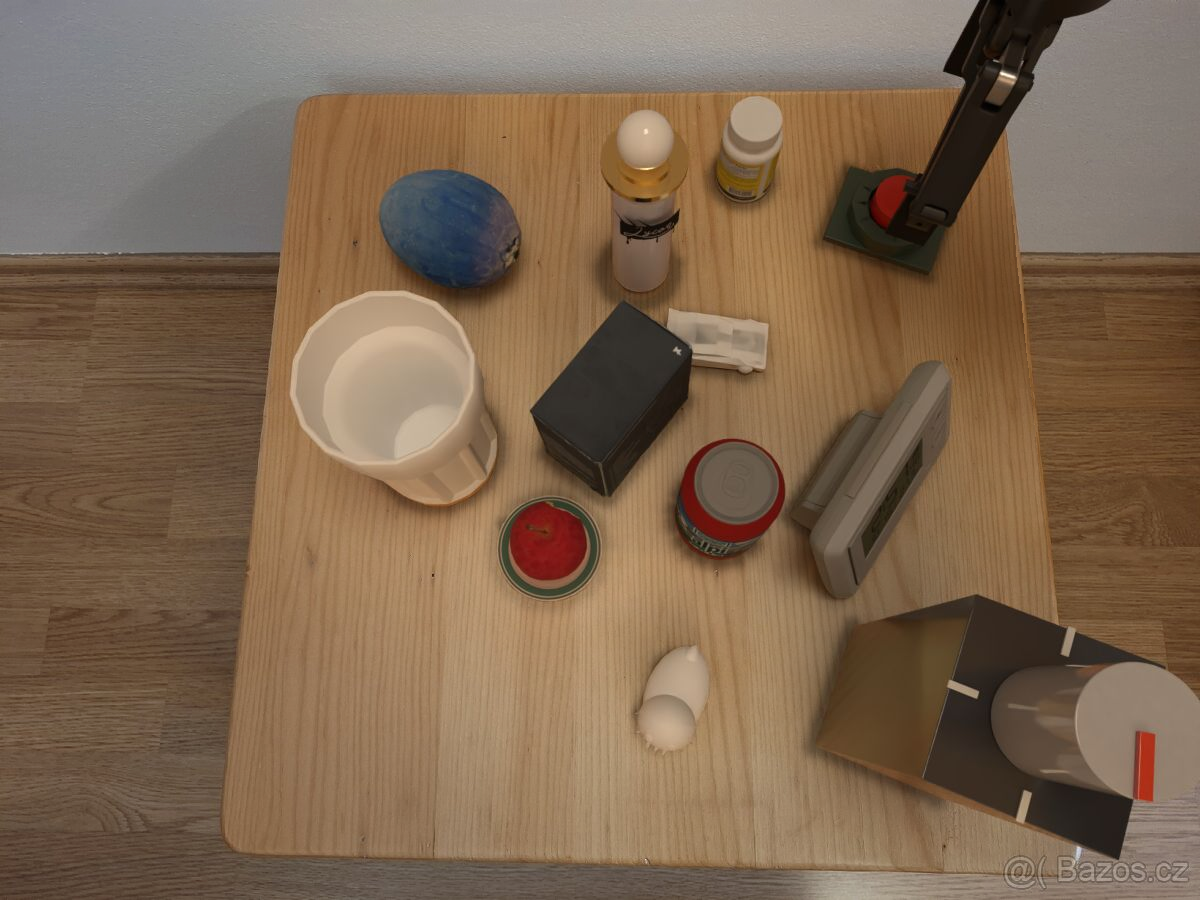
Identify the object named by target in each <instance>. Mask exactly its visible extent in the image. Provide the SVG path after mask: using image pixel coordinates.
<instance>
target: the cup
mask: <svg viewBox="0 0 1200 900" xmlns="http://www.w3.org/2000/svg"><path fill="white" fill-rule="evenodd" d="M290 374H291V375H290V382H289V383H290V385H289V394H288V396H289V399H290V402H291V404H292V407H293V410H294V413H295V416H296V418H297V421H298V423H299V427H300V429H301V430H302V431H303V432H304V433H305V434H306V435H307V436H308V437H309V438H310V439H311V440H312V442H314V443H315V444H316V445H317V446H318V448H319V449H321V451H322V452H323V453H324V454H326V456H329V457H330V458H331V459H333V460H335V461H336V462H338V463H339V464H340V465H342V466H344V467H345V468H347V469H349V470H351V471H355V472H356V473H359V474H362V475H365V476H367V477H370V478H372V479H375V480H378V481H381V482H383V483H384V484H385V485H387V486H389V487H390V488H391V489H393V490H395V491H396V492H397V493H399V494H400V495H401V496H403V497H405V498H406V499H408V500H411V501H413V502H414V503H418V504H421V505H425V506H427V507H428V506H429V507H430V506H431V507H448V506H453V505H456V504H458V503H460V502H463V501H465V500H467V499H469V498H471V497H473V496H474V495H475V494H476V493H477V492H478V491H480V489H482V487H484V486H485V484H486V483H487V482H489V480H490V478H491V477H492V474H493V471H494V469H495V467H496V464H497V461H498V455H499V454H498V453H499V436H498V434H497V431H496V429H495V426H494V424H493V421H492V419H491V416H490V413H489V411H488V408H487V407H486V404H485V378H484V375H483V373H482V370H481V367H480V364H479V362H478V359H477V355H476V354H475V352H474V349H473V346H472V345H471V342H470V340H469V337H468V335H467V333H466V331H465V328H464V326H463V324H462V323H461V322H459V320H457V319H456V318H455V317H454V316H453V315H452V314H451V313H450V312H449V311H448V310H447V309H446V308H445V307H444V306H443V305H442V304H441V303H440V302H439V301H436V300H433V299H431V298H427V297H425V296H422V295H419V294H417V293H414V292H410V291H408V290H405V289H402V290H400V289H399V290H368V291H366V292H364V293H361V294H359V295H356V296H353V297H350V298H349V299H347V300H344V301H342V302H338V303H337V304H335V305H333V306H332V308H330V309H329V310H328V311H327V312H326V313H325V314H324V315H322V316H321V317H319V319H318V320H316V321H315V323H313V324H312V325H311V326H310V327H309V328H308V329H307V331H306V333H305V335H304V337H303V339H302V341H301V343H300V345H299V347H298V349H297V351H296V353H295V355H294V357H293V359H292V361H291V373H290Z"/></svg>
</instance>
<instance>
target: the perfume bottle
mask: <svg viewBox="0 0 1200 900" xmlns="http://www.w3.org/2000/svg"><path fill="white" fill-rule="evenodd" d="M689 154H690V153H689V149H688V147H687V144H686V142H685V139H683V137H682V136H681V134H680V133H679V132H677V131H676V130H675V129H674V128H673V127H672V124H671V122H670V121H669V120H668V119H667V118H666V117H665V115H663V114H662V113H660V112H659V111H656V110H654V109H649V108H643V109H638V110H634V111H632V112H631V113H630V114H628V115H627V116H625V117H624V119H623V120H622V121H621V123H620V124H619V126H618V127H616V129H615V130H613V131H612V132H611V133H610V134H609V135H608V136H607V137H606V139H605V141H604V143H603V144H602V147H601V150H600V158H599V163H600V173H601V175H602V178H603V180H604V182H605V183H606V185H607V187H608V188H609V189H610V190H609V191H610V217H611V221H610V222H611V244H612V245H611V249H612V250H611V251H612V271H613V274H614V277H615V279H616V281H617V282H618V283H619V284H620V285H621V286H622V287H624V289H627V290H629V291H631V292H636V293H645V292H650V291H653V290H654V289H656V288H658V287H659V286H660V285H662V284H663V283H664V282H665V280H666V278H667V276H668V273H669V268H670V258H671V257H670V256H671V249H672V239H673V238H672V237H673V234H674V233H675V227H676V225H678V223H679V220H680V212H681V207H679V208H678V210H676V209H675V208H676V199H677V190H679V189H680V187H681V186H682V185H683V183H684V181H685V179H686V178H687V175H688V172H689V163H690V155H689ZM675 210H676V211H675Z"/></svg>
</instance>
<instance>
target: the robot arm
mask: <svg viewBox="0 0 1200 900" xmlns="http://www.w3.org/2000/svg"><path fill="white" fill-rule="evenodd" d="M1111 1H1112V0H978V2H977V4H975V7H974V9H973V11H972V12H971V15H970V16H969V18H968V20H967V22H966V23H965V26H964V28H963V29H962V32H961V33H960V35H959V37H958V39H957V41H956V43H955V44H954V46H953V48H952V50H951V52H950V54H949V55H948V58H947V60H946V61H945V63H944V67H943V70H942V73H946V74H949V75H951V76H955V77H958V78H962V79H963V81H964V84H963V86H962V88H961V91H960V93H959V95H958V97H957V99H956V101H955V103H954V106H953V108H952V110H951V112H950V114H949V116H948V118H947V121H946V123H945V125H944V127H943V128H942V131H941V134H940V136H939V138H938V140H937V143H936V144H935V146H934V149H933V151H932V153H931V155H930V157H929V160H928V162H927V164H926V165H925V169H924V170H923V172H922V173H921V172H918V173H917V174H918V175H917V177H916V178H915V180H914V181H913V180H910V179H907V180H906V182H905V184H904V187H903V190H902V191H903V192H906V195H905V197H904V198H903V200H902V202H901V203H900V205H899V207H898V208H897V210H896V212H895V214H894V215H893V217H892V219H891V220H890V222H889V224H888V226H887V229H886V232H885V234H888V235H891V236H894V237H897V238H900V239H902V240H905V241H908V242H911V243H914V244H917V245H920V246H924V245H925V243H926V242H927V240H928V239H929V238H930V236H931V235H932V233H933V232H934V231H935V229H936V228H937V226H938V225H940V226H943V227H946V229H950V228H951V227H953V224H955V223H956V221H957V218H958V214H959V212H960V211H961V209H962V207H963V205H964V203H965V202H966V200H967V198H968V196H969V194H970V193H971V190H972V189H973V188H974V185H975V184H976V181H977V180H978V178H979V176H980V175H981V173H982V171H983V169H984V167H985V165H986V164H987V162H988V160H989V158H990V156H991V155H992V153H993V151H994V149H995V147H996V145H997V144H998V142H999V140H1000V138H1001V137H1002V134H1003V133H1004V131H1005V129H1006V127H1007V126H1008V124H1009V122H1010V120H1011V118H1012V117H1013V115H1014V114H1015V112H1016V111H1017V109H1018V108H1019V106H1020V104H1021V103H1022V101H1023V100H1024V98H1025V97H1026V95H1027V94H1028V93H1030V92H1031V90H1032V89H1033V87H1034V84H1035V83H1034V81H1035V77H1036V76H1035V73H1033V72H1034V70H1035V68H1036V66H1037V64H1038V61H1040V58H1041V56H1042V54H1043V52H1044V51H1045V50H1047V49H1048V48H1050V47H1051V45H1052V44H1053V42H1054V41H1055V38H1056V37H1057V35H1058V33H1059V32H1060V29H1061V27H1062V24H1063V22H1064V20H1065V19H1069V18H1073V17H1078V16H1083V15H1086V14H1089V13H1092V12H1094V11H1096V10H1098V9H1101V8H1102V7H1104V6H1106V5H1107V4H1108V3H1110V2H1111Z"/></svg>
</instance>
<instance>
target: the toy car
mask: <svg viewBox="0 0 1200 900" xmlns="http://www.w3.org/2000/svg"><path fill="white" fill-rule="evenodd" d="M666 324H667V325H666V327H667V328H668V329H669V330H670V331H671V332H673V333H675V334H676V335H677V336H679V337H680V338H681V339H682V340H684V341H686V342H688V343H689V344H690V345H691V346H692V350H693V354H692V364H691V366H697V367H708V368H717V369H727V370H738V372H739V373H742V374H744V375H745V374H746V375H747V374H750V373H752V371H753V370H755V371H758V372H762V371H764V370H766V365H767V354H768V351H767V346H768V341H769V340H768V339H769V328H770V324H769V323H768V322H767V323H765V322H762V321H761V322H760V321H756V320H754V319H752V318H745V319H741V318H737V317H736V318H735V317H729V316H722V315H716V314H708V313H701V312H694V311H693V312H692V311H684V310H683V311H682V310H676V309H674V308H672V307H669V308H668V314H667V323H666Z"/></svg>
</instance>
